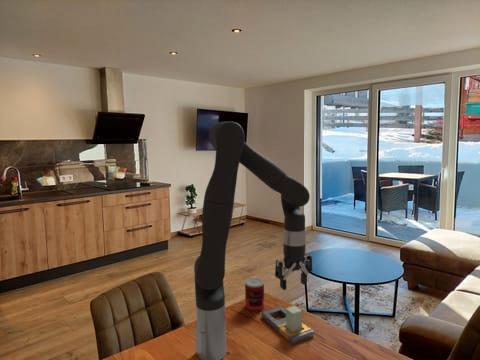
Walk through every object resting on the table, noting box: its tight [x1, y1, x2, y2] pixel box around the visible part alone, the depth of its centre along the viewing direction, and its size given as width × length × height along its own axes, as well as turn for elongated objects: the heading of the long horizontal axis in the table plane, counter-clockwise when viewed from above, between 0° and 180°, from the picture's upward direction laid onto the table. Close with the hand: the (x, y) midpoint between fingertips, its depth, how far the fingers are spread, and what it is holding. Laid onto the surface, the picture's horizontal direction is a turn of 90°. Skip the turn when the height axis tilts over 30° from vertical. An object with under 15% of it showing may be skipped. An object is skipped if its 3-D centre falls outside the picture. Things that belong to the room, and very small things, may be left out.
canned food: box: [244, 277, 265, 313], centre depth 140 cm, size 8×8×11 cm
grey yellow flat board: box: [261, 306, 314, 345], centre depth 126 cm, size 9×20×2 cm, turn 27°
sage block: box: [285, 305, 303, 333], centre depth 121 cm, size 4×4×9 cm
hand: (293, 286), depth 119 cm, fingers open, 8 cm apart
